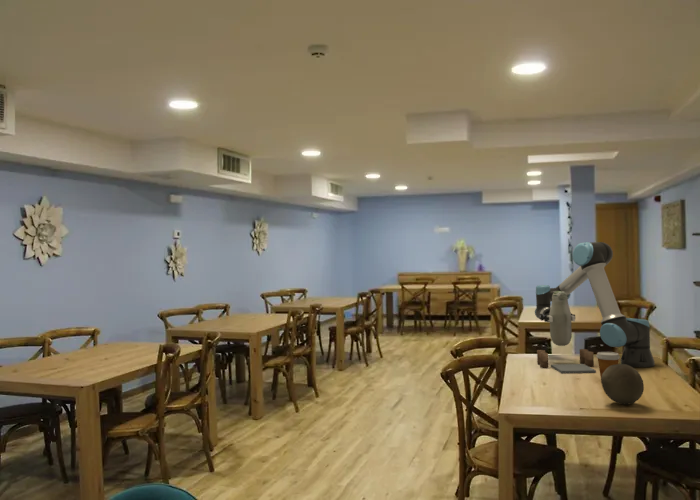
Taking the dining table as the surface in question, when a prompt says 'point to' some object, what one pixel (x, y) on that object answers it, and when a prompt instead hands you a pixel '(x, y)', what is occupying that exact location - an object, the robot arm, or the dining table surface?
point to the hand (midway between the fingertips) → (563, 319)
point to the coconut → (622, 384)
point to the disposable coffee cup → (607, 360)
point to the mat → (572, 368)
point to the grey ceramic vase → (560, 319)
